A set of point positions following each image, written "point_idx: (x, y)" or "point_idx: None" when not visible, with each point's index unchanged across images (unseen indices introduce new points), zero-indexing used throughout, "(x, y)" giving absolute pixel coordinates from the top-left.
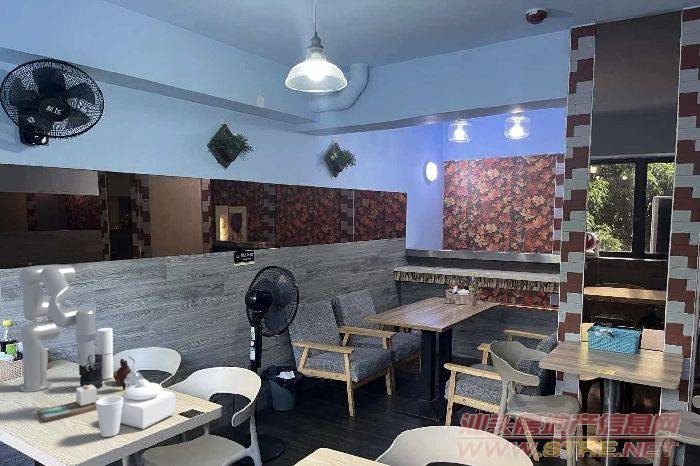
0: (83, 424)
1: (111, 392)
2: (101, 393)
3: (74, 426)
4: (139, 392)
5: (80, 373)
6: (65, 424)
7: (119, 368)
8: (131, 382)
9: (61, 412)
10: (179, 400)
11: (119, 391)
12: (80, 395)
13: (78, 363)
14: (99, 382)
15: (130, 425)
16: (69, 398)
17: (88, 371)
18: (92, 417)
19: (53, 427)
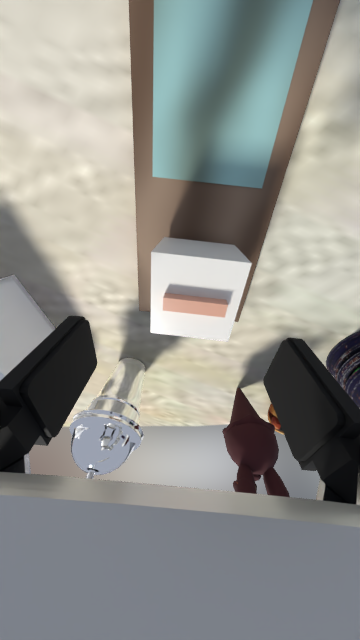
0: (14, 178)
1: (254, 366)
2: (276, 349)
3: (5, 132)
4: None
5: (289, 352)
6: (50, 102)
7: (266, 460)
8: (74, 420)
9: (172, 126)
10: (76, 412)
11: (240, 379)
12: (158, 247)
13: (300, 527)
14: (338, 379)
15: None
16: (355, 261)
17: (12, 397)
18: (75, 239)
19: (35, 7)
